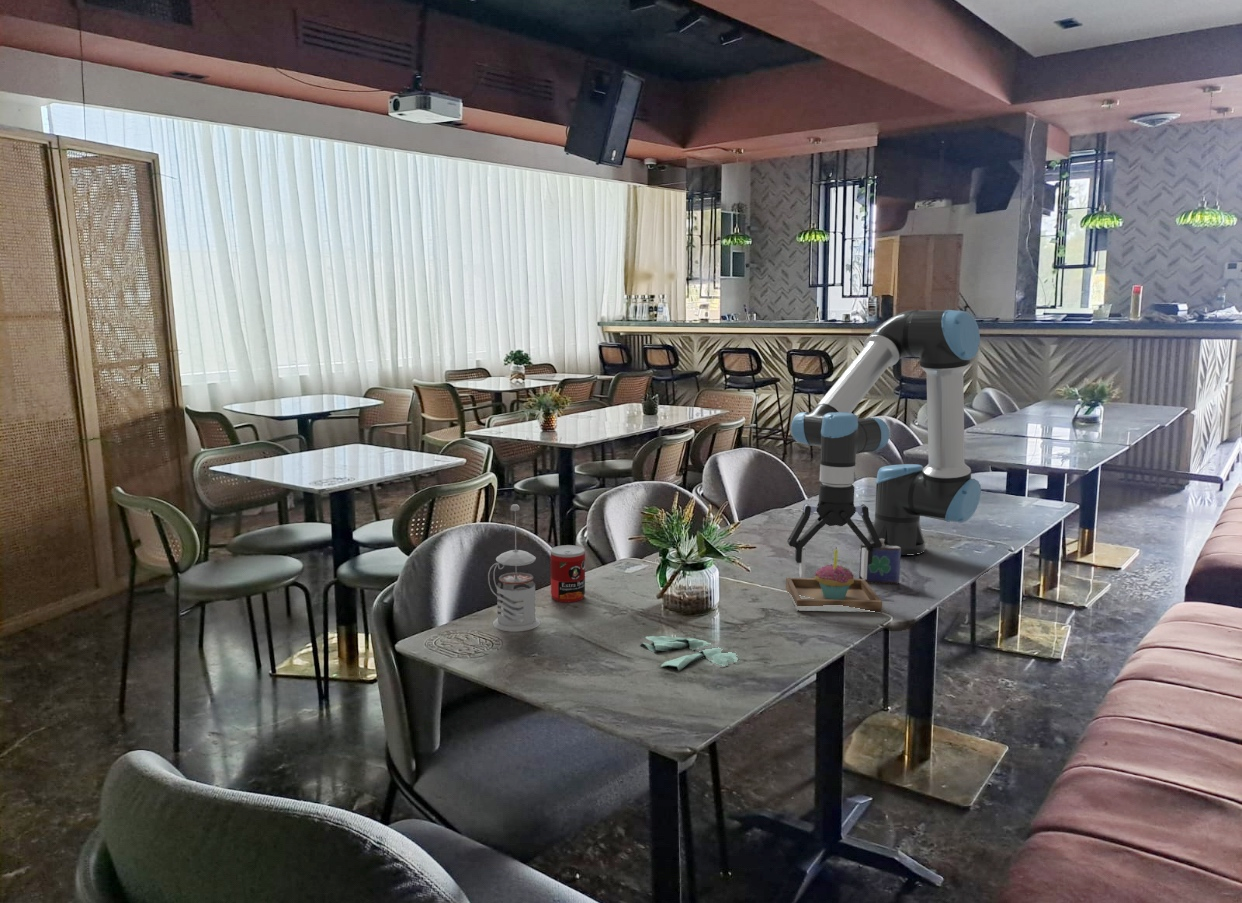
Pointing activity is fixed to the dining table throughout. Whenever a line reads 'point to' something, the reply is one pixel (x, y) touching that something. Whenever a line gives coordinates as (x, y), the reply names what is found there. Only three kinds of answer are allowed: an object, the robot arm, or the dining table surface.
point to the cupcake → (834, 580)
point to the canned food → (567, 573)
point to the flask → (883, 565)
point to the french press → (515, 591)
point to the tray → (855, 597)
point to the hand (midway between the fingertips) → (832, 577)
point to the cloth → (681, 643)
